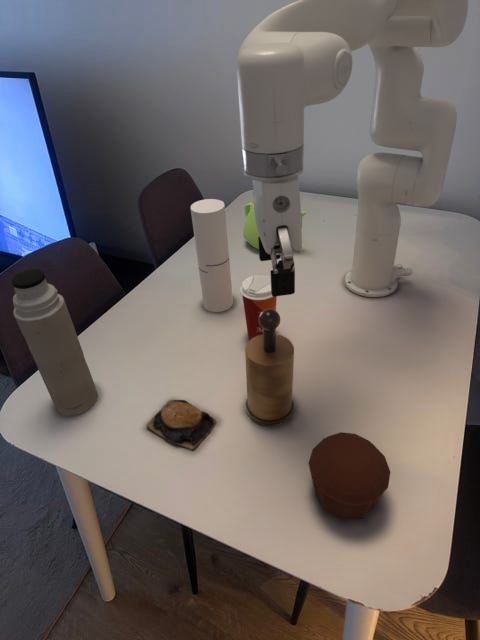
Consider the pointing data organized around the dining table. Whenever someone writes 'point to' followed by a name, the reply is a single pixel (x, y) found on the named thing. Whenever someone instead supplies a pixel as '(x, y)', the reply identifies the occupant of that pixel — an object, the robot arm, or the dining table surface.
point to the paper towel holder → (269, 373)
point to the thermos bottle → (53, 342)
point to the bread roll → (182, 424)
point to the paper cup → (256, 301)
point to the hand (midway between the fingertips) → (276, 275)
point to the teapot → (250, 225)
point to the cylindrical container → (212, 253)
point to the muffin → (348, 475)
